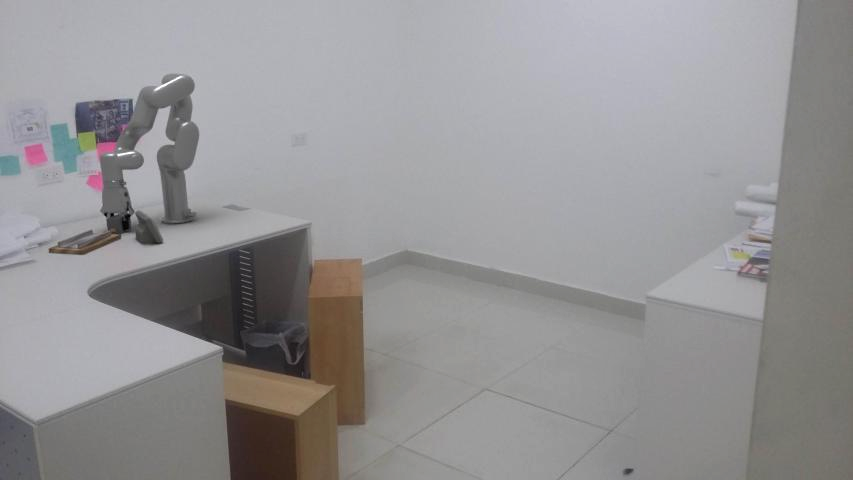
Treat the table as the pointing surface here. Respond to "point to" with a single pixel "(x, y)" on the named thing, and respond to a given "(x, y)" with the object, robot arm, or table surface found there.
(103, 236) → the rail mount
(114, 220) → the block
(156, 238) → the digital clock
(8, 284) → the table surface
